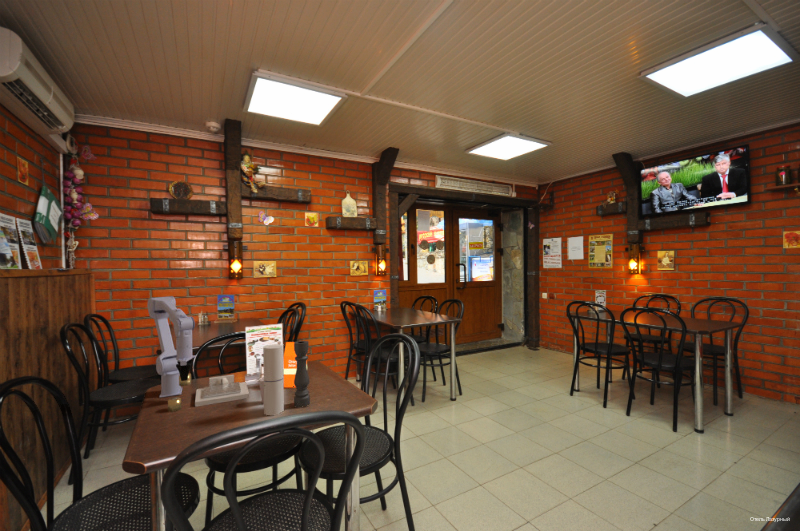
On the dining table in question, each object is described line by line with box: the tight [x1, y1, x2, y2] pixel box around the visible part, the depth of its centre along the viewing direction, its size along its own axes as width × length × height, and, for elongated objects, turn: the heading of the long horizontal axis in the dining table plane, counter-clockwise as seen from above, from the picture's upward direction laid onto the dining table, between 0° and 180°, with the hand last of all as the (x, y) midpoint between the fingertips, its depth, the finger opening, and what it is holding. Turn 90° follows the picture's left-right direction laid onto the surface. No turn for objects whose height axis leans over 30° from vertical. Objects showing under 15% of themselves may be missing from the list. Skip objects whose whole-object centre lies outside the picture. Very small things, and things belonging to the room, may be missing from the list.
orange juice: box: [283, 341, 308, 388], centre depth 170 cm, size 8×9×20 cm
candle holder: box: [293, 340, 311, 408], centre depth 145 cm, size 6×6×25 cm
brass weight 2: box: [179, 372, 192, 387], centre depth 151 cm, size 4×4×4 cm
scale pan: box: [203, 381, 241, 398], centre depth 157 cm, size 12×14×1 cm
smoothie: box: [258, 376, 264, 405], centre depth 148 cm, size 6×6×14 cm
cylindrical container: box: [262, 343, 285, 416], centre depth 138 cm, size 7×7×25 cm
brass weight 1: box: [167, 397, 182, 413], centre depth 142 cm, size 4×4×4 cm
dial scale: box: [194, 374, 250, 408], centre depth 157 cm, size 18×20×6 cm
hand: (184, 378), depth 151 cm, fingers closed on brass weight 2, 4 cm apart
